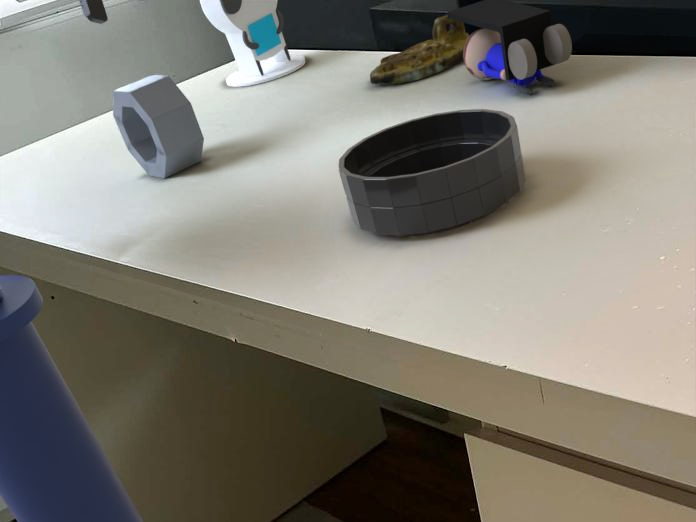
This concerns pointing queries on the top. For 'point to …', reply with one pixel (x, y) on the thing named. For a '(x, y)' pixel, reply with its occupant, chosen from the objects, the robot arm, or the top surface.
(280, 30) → the panda figurine
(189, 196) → the top surface
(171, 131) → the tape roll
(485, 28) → the figurine character
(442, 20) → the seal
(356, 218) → the bowl
